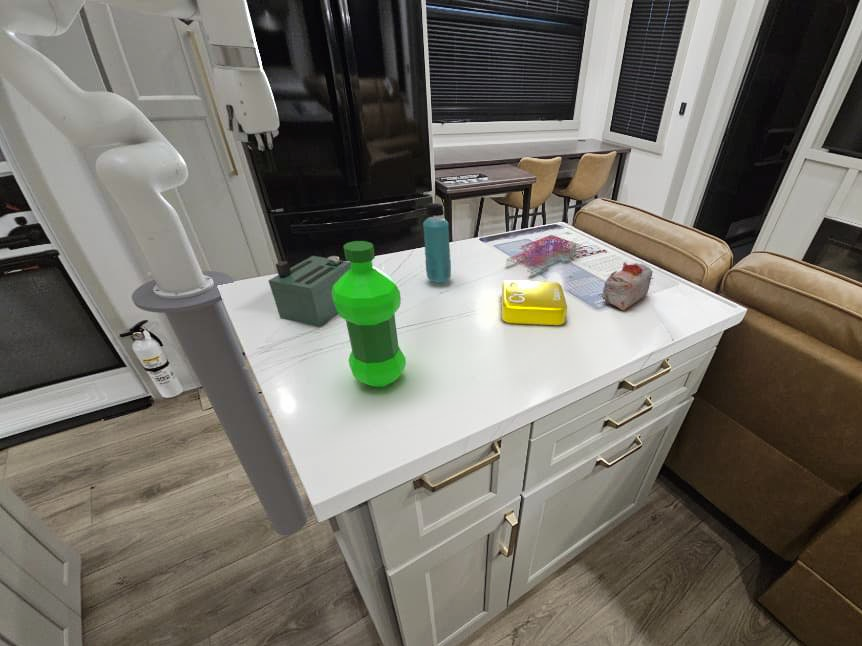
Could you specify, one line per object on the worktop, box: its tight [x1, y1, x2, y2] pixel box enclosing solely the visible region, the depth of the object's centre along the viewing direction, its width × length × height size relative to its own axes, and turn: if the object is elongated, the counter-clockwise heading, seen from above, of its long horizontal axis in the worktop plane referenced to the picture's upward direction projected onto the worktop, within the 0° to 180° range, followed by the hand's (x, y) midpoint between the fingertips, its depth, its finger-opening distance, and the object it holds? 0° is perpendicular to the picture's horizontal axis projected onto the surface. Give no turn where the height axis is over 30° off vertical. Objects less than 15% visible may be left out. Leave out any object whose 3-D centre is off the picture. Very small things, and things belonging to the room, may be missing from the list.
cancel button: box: [327, 255, 340, 267], centre depth 95 cm, size 2×2×2 cm
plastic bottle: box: [331, 240, 407, 388], centre depth 70 cm, size 10×10×25 cm
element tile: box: [501, 279, 568, 326], centre depth 101 cm, size 15×15×5 cm
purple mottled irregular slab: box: [505, 234, 583, 278], centre depth 128 cm, size 30×15×5 cm, turn 140°
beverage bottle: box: [422, 202, 452, 283], centre depth 105 cm, size 6×7×20 cm
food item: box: [601, 261, 654, 311], centre depth 107 cm, size 14×8×10 cm, turn 140°
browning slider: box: [275, 260, 291, 277], centre depth 88 cm, size 2×2×2 cm
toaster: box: [268, 255, 351, 327], centre depth 94 cm, size 10×15×9 cm, turn 166°
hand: (267, 170), depth 87 cm, fingers closed
